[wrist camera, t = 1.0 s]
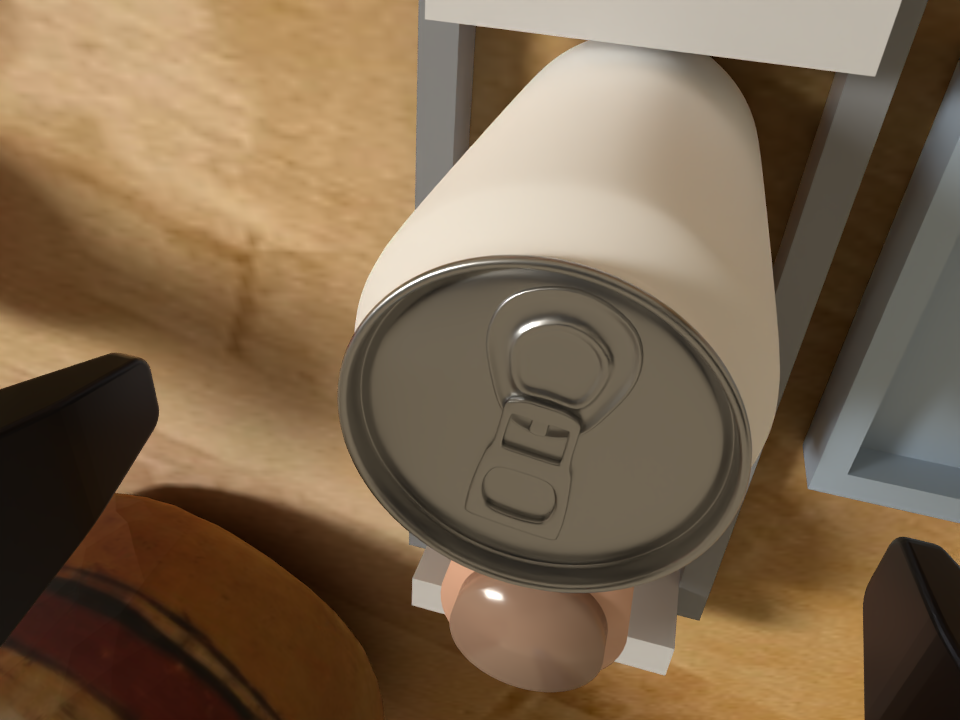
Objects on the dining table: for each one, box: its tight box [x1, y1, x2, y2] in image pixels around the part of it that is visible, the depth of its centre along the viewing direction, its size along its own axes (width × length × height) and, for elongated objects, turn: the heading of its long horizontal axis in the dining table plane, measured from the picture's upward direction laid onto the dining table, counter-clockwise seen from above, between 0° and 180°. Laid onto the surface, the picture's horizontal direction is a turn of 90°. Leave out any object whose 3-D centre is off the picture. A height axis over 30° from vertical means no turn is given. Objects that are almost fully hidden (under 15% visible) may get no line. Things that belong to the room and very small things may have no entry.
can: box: [338, 40, 780, 593], centre depth 15 cm, size 6×6×12 cm
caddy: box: [409, 0, 928, 675], centre depth 18 cm, size 11×30×4 cm, turn 176°
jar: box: [441, 560, 634, 692], centre depth 22 cm, size 5×5×8 cm
